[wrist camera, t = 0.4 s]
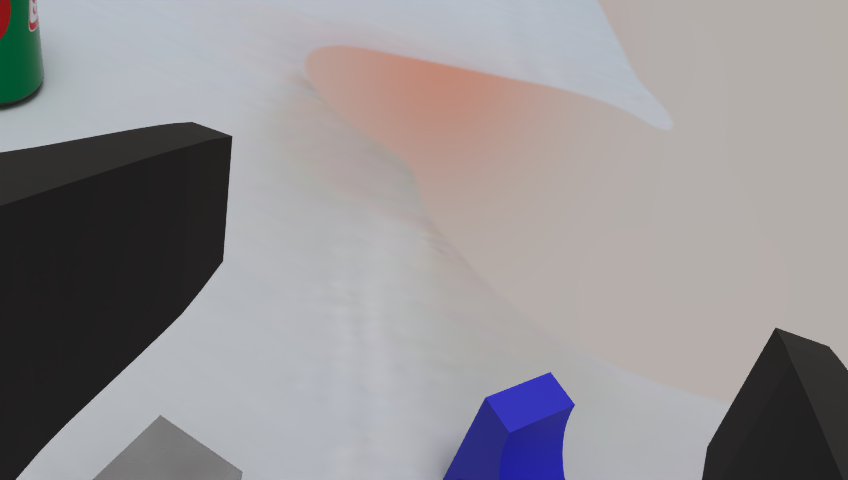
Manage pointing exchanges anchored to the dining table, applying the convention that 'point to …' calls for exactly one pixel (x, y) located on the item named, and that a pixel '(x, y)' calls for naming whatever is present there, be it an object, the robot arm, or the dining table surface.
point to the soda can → (19, 50)
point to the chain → (168, 458)
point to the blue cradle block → (516, 435)
